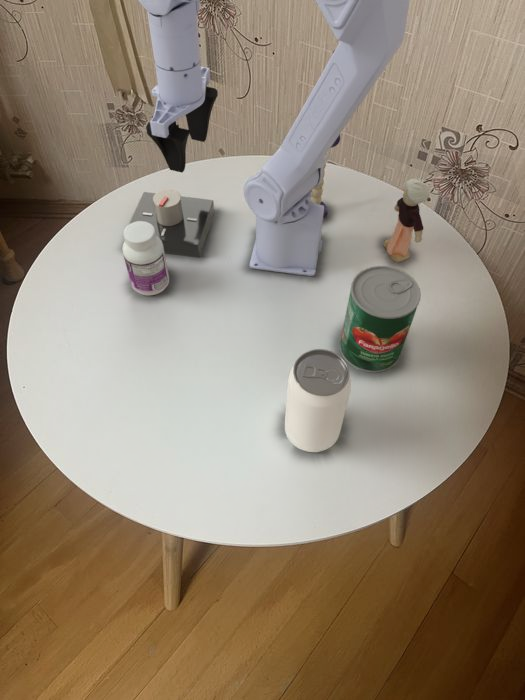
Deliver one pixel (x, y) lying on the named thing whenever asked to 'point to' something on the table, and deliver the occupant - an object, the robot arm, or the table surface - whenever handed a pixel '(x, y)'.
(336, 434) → the can
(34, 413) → the table surface
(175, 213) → the hob knob
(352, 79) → the robot arm
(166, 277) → the pill bottle
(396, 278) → the canned tomato
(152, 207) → the knob base
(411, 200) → the grandmother figurine
